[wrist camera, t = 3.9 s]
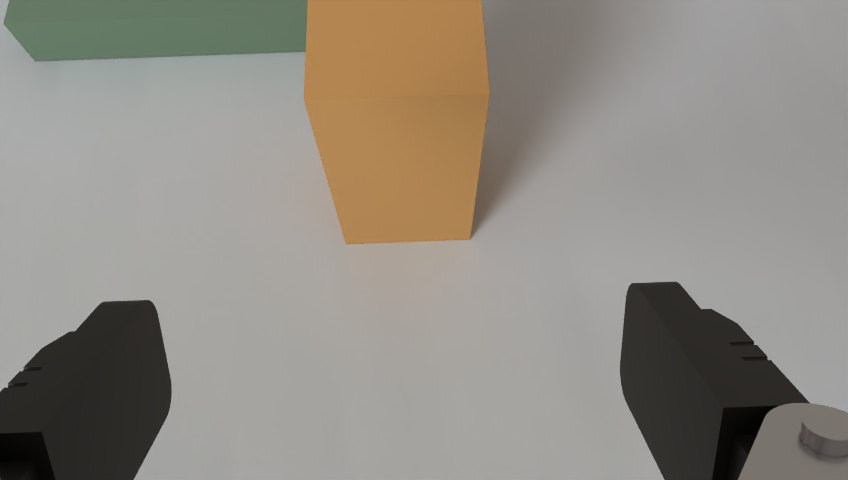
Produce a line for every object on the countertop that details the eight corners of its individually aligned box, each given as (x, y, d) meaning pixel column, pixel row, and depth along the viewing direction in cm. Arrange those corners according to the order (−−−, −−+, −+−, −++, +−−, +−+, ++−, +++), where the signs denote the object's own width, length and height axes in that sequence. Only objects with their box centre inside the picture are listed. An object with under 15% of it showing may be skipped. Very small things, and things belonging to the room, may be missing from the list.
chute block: (346, 137, 30) (309, -41, 20) (462, 133, 30) (477, -47, 20) (345, 244, 28) (303, 100, 18) (470, 239, 28) (489, 93, 18)
